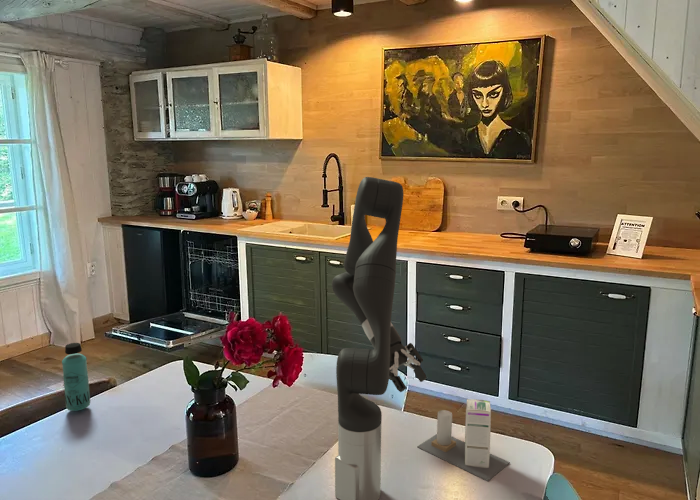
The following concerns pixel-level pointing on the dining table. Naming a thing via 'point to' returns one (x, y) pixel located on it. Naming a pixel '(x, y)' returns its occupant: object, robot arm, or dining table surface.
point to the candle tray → (457, 449)
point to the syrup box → (477, 433)
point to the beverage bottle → (75, 378)
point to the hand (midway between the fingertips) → (414, 385)
